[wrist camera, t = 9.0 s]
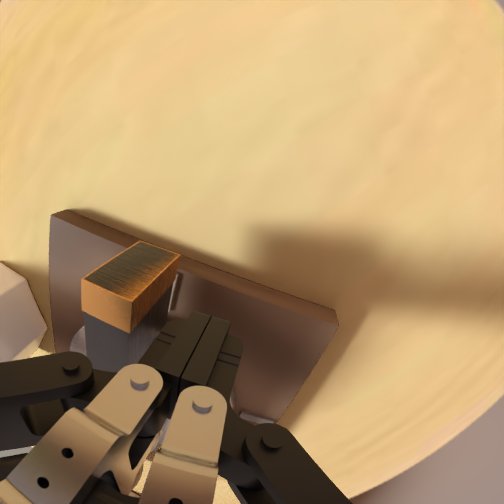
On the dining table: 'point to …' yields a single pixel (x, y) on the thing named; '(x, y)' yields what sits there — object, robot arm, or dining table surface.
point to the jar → (18, 317)
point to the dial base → (205, 301)
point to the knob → (127, 309)
